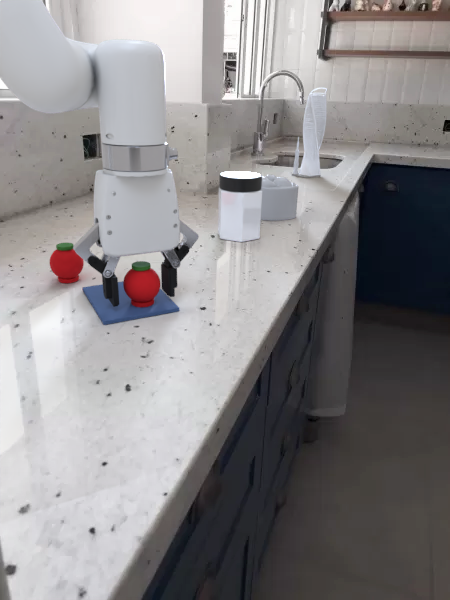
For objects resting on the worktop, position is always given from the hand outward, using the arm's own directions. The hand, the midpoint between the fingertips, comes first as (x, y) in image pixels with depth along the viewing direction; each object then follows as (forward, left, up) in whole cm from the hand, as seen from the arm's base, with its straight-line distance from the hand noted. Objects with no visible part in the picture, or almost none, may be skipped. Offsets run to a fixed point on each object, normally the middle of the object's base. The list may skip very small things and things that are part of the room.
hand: (141, 296), depth 64 cm
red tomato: (-7, +14, -1) cm, 15 cm away
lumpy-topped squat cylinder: (+43, +38, -2) cm, 57 cm away
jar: (+28, +25, -2) cm, 37 cm away
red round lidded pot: (0, 0, -1) cm, 1 cm away
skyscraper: (+86, +81, -2) cm, 118 cm away
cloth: (-1, +3, -1) cm, 3 cm away
